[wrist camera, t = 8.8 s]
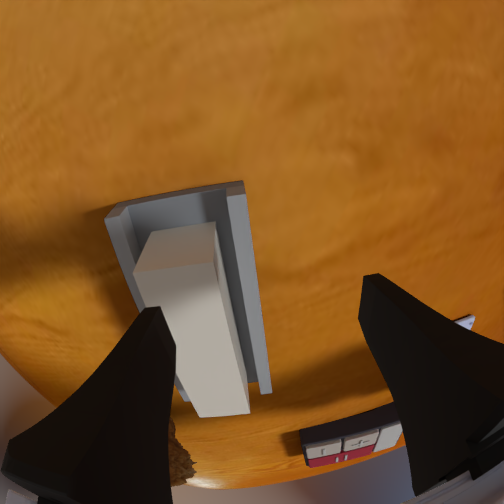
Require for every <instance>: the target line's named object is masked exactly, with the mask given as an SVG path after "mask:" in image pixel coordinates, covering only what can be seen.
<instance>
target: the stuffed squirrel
mask: <svg viewBox="0 0 504 504" xmlns="http://www.w3.org/2000/svg"><path fill="white" fill-rule="evenodd" d="M175 430H176V429H175V425H174V422H173V420H172V418H169V429H168V452H169V472H170V483H171V487H172V486H178V485H182V484H184V483H187V481H186V479H188V478H192V477H193V476H195V475H194V473H196V471H194V468H192V465H193V464H195V463H197V462H193V461H192V460H191V459H190V454H188V451H187V450H185V449H183V446H182V445H181V443H179V442H178V441H177V439H176V438H175Z"/></svg>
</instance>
